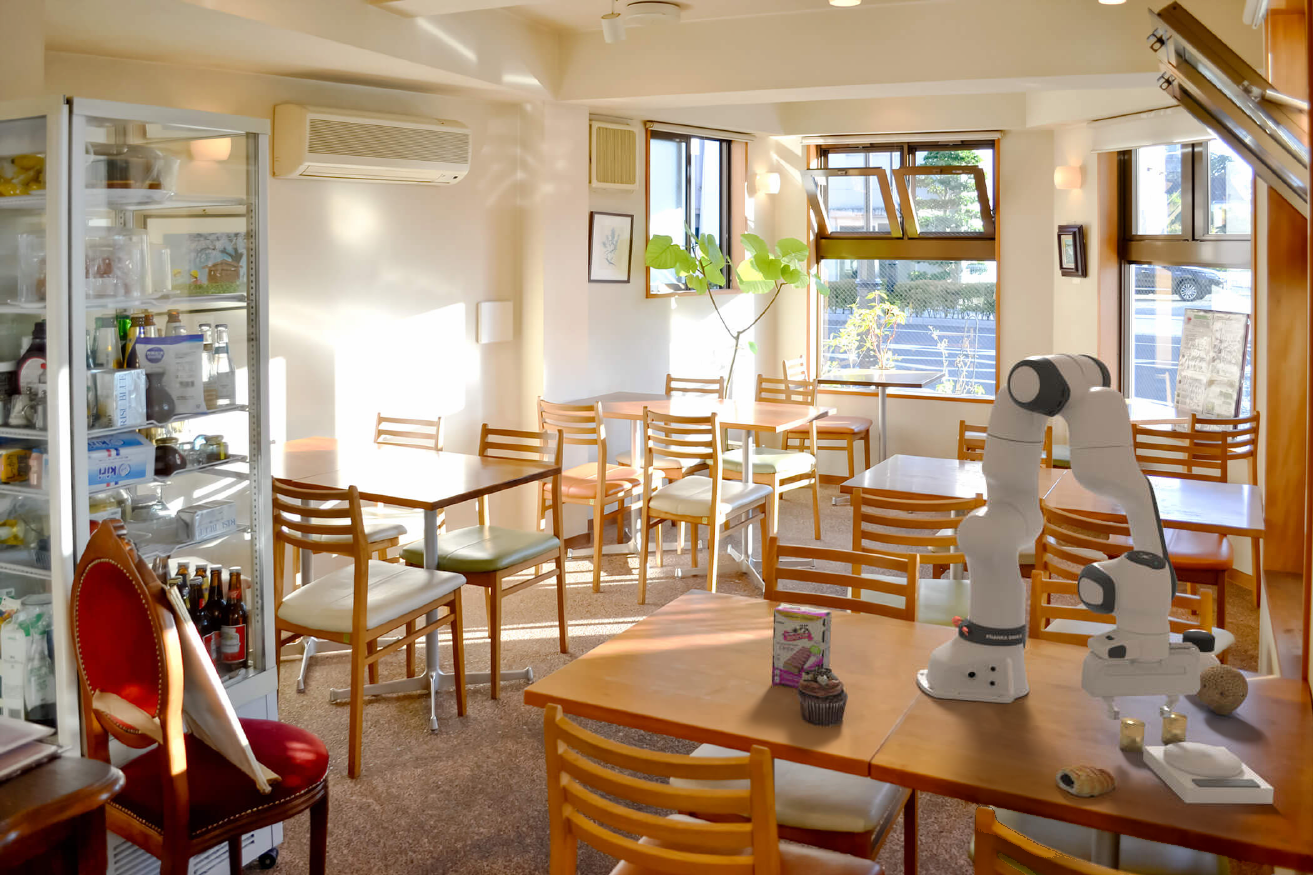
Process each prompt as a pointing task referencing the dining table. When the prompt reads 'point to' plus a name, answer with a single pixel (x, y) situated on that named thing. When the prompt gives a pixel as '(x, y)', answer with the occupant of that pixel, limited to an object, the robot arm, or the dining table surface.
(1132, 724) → the cylinder
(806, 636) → the candy bar box
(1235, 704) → the natural sponge
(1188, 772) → the scale
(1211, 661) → the medicine bottle
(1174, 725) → the cylinder
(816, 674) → the cupcake
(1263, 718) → the dining table surface
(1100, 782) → the pastry
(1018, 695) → the robot arm
